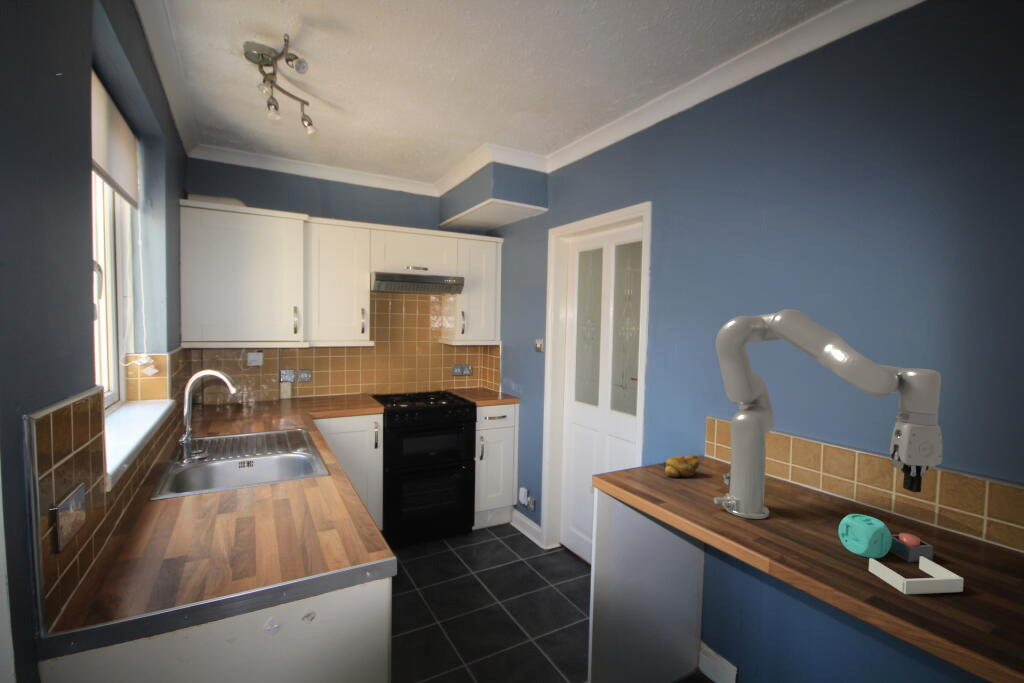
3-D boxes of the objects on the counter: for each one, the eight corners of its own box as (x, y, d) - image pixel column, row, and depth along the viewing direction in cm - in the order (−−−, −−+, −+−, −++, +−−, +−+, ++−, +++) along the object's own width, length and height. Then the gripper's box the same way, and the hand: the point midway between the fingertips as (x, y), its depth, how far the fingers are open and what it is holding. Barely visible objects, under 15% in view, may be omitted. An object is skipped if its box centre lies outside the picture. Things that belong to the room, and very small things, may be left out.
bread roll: (672, 481, 168) (673, 459, 168) (656, 472, 177) (657, 451, 177) (701, 477, 172) (702, 456, 172) (684, 469, 181) (685, 449, 181)
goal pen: (905, 594, 101) (906, 580, 101) (868, 570, 110) (869, 558, 110) (962, 591, 102) (963, 578, 102) (921, 568, 111) (922, 556, 111)
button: (908, 554, 115) (909, 540, 115) (894, 546, 119) (895, 533, 119) (923, 554, 116) (924, 540, 115) (908, 546, 120) (909, 532, 119)
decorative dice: (867, 560, 115) (869, 529, 114) (836, 544, 122) (838, 515, 122) (891, 556, 117) (893, 525, 116) (860, 541, 125) (861, 512, 124)
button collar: (908, 562, 114) (909, 547, 114) (885, 549, 120) (886, 534, 120) (932, 561, 115) (933, 546, 114) (908, 548, 121) (909, 534, 121)
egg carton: (740, 490, 161) (741, 478, 160) (720, 483, 167) (720, 472, 166) (756, 484, 167) (757, 472, 166) (736, 477, 173) (736, 466, 173)
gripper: (903, 422, 111) (897, 496, 112) (960, 421, 112) (954, 495, 113) (876, 415, 118) (871, 485, 120) (929, 414, 120) (924, 484, 121)
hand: (911, 490), depth 117 cm, fingers closed
